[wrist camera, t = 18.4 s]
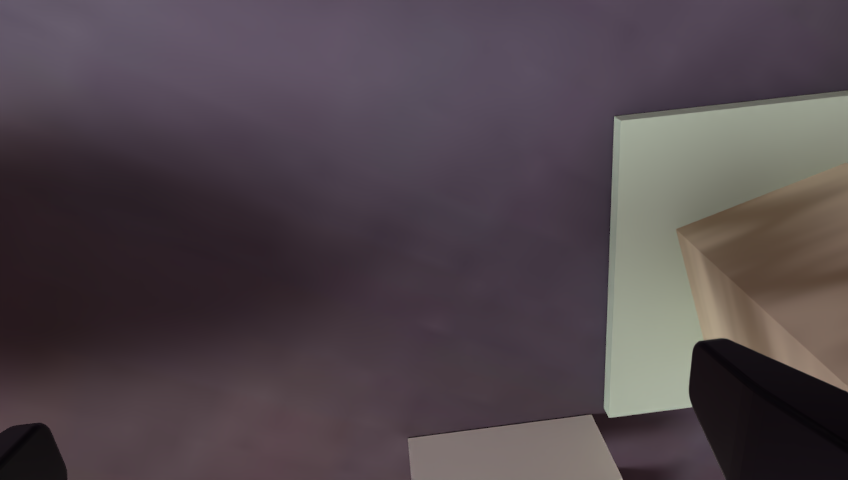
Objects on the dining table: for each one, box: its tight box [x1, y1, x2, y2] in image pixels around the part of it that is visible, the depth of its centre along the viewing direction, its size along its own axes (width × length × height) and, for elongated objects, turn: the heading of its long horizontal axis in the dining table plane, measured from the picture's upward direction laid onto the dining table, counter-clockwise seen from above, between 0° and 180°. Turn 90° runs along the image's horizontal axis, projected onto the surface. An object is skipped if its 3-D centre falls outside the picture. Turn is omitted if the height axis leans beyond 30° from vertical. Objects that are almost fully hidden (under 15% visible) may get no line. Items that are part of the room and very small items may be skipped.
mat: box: [604, 90, 848, 418], centre depth 24 cm, size 12×12×1 cm
